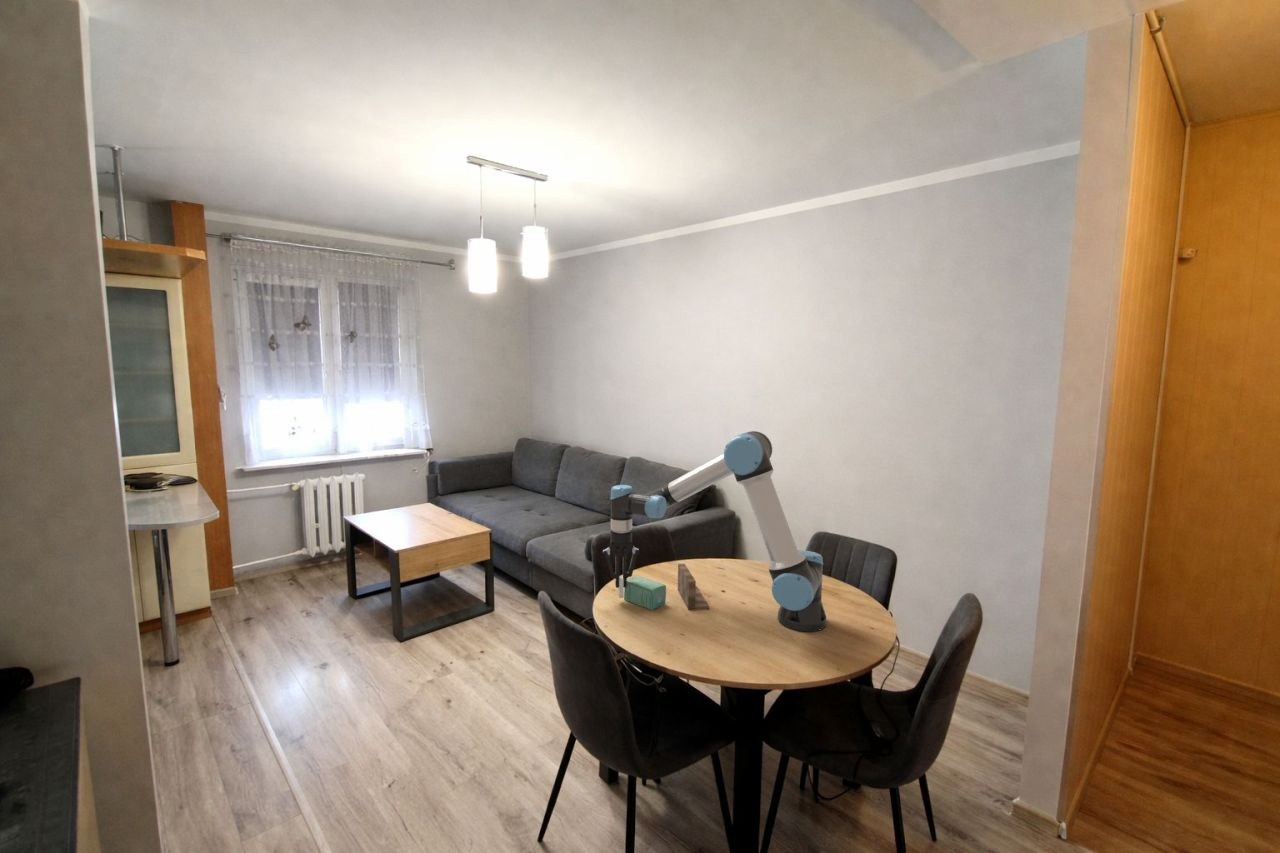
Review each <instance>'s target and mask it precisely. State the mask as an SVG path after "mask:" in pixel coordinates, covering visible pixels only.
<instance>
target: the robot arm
mask: <svg viewBox="0 0 1280 853" xmlns="http://www.w3.org/2000/svg"><path fill="white" fill-rule="evenodd" d="M772 454H773V444H772V442H771V439H769V437H768V436H767V435H766V434H765V433H762V432H759V431H755V430H753V431H747V432H744V433H740V434H739V433H738V434H737V435H735V436H733V437H732V438H730V440H729V441H728V442H727V443H726V444H725V447H724V449H723V453H721V454H720V455H717V456H716V457H714V458H712V459H711V460H708V461H707V462H705V463H703V464H701V465H700V466H698V467H696V468H694V469H692V470H690V471H688V472H687V473H685V474H683V475H681V476H679V477H677V478H676V479H674V480H672V481H670V482H669V483H666V484H665V485H663V486H661V487H659V488H657V489H654V490H652V491H650V492H648V493H637V492H634V490H633V487H632V485H628V484H618V485H613V486H612V487H611V489H610V498H609V499H610V500H609V501H610V532H609V533H610V536H609V538H610V543H609V544H608V547H607V548H605V549H604V548H603V550H602V553H603V555H604V556H605V559H606V562H607V566H608V570H609V574H610V577H611V578H613V579H615V582H614V583H615V587H616V589H617V588H618V593H617V594H618V598H620V599H622V598H623V599H624V588H625V587H626V586H627V579H629V578H632V576H633V573H634V569H635V565H636V561H637V557H638V556H639V554H640V550H639V548H638V547H635V546H634V544H633V531H632V530H633V516H637V517H638V516H639V517H645V518H649V519H661V518H663V517H664V516H665V514H666V512H667V509H669V508H671V507H673V506H674V505H676V504H679V502H680V503H681V501H683V500H686V499H687V498H689V497H691V496H693V495H695V494H697V493H699V492H701V491H703V490H705V489H706V488H708V487H710V486H712V485H714V484H716V483H718V482H720V481H722V480H724V479H725V478H728V477H730V476H732V475H734V478H735V480H736V481H735V482H736V483H737V484H739V485H741V486H743V488H744V491H745V493H746V496H747V499H748V502H749V505H750V507H751V510H752V513H753V515H754V518H755V521H756V524H757V527H758V529H759V532H760V535H761V538H762V540H763V543H764V546H765V549H766V550H767V554H768V557H769V560H770V562H769V564H768V566H767V570H768V571H769V574H770V577H771V580H772V584H771V593H772V597H773V599H774V601H775V602H776V603H777V604H778V605H779V609H778V611H777V620H779V621H778V623H780V624H781V625H782V624H783V625H782V626H784V627H786V628H788V629H791V628H792V629H791V630H794V629H795V630H794V631H799V630H800V632H816V631H815V630H819V629H822V628H824V627H825V626H827V615H826V612H825V608H824V605H823V602H822V595H823V589H822V588H823V567H824V561H823V559H824V558H823V556H822V555H821V554H820V553H818V552H814V551H810V550H803V549H798V548H797V545H796V542H795V540H794V537H793V534H792V532H791V529H790V525H789V524H788V520H787V518H786V515H785V513H784V510H783V506H782V504H781V501H780V498H779V495H778V493H777V491H776V488H775V485H774V483H773V480H772V474H773V472H774V469H773V464H772V462H771V460H770V459H771V458H772ZM631 552H632V554H631V559H630V561H629V566H628V556H629V555H630V553H631ZM611 553H612V554H613V556H614V557H615V566H614V567H615V569H614V568H613V566H612V559H611V557H610V555H611ZM621 557H622V576H620V569H621V568H620V565H621V564H620V558H621ZM614 570H615V572H614ZM825 628H826V627H825ZM825 628H824V629H825ZM822 630H823V629H822ZM819 631H820V630H819Z"/></svg>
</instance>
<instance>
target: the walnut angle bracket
mask: <svg viewBox="0 0 1280 853" xmlns="http://www.w3.org/2000/svg"><path fill="white" fill-rule="evenodd" d="M696 584H697V582H696V579H695V577H694V576H693V575H692V573H691V572H690V570H689V568H688V567H687V566H686V563H677V592H678V591H679V592H678V593H679V595H680V598H681V599H682V601H683V603H684V605H685V606H686V608H687V610H688V611H694V610H695V611H697V610H698V611H699V610H710V605H709V603H708V601H707V600H706V598H705V597H704V595H703V593H702V592H701V591H700V589H699V587H698V586H697V585H696Z"/></svg>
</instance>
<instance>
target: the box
mask: <svg viewBox="0 0 1280 853" xmlns="http://www.w3.org/2000/svg"><path fill="white" fill-rule="evenodd" d="M623 599H624V600H625V601H626V602H629V603H632V604H635V605H638V606H640V607H643V608H645V609H648V610H650V611H654V610H656V609H658V608H660V607H662V605H663V606H664V605H666V602H667V601H666V600H667V586H666V584H664V583H660V582H657V581H654V580H652V579H648V578H646V577H643V576H641V575H635V576H633V577H632V576H631V577H628V578H627V586H626V587H624V588H623Z"/></svg>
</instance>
